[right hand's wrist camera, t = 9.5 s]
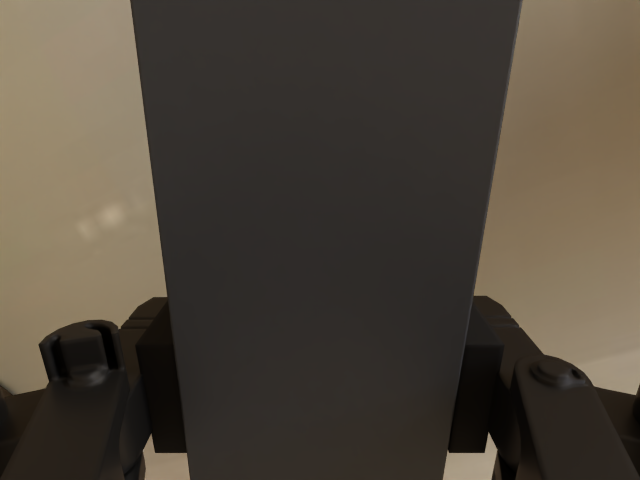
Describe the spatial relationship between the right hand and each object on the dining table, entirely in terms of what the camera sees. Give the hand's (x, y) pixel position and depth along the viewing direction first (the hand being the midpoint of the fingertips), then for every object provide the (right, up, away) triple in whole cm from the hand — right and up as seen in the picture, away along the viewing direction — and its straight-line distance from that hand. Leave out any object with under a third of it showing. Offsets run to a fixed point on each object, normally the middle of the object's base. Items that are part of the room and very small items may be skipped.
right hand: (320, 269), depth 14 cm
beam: (0, +24, -8) cm, 26 cm away
